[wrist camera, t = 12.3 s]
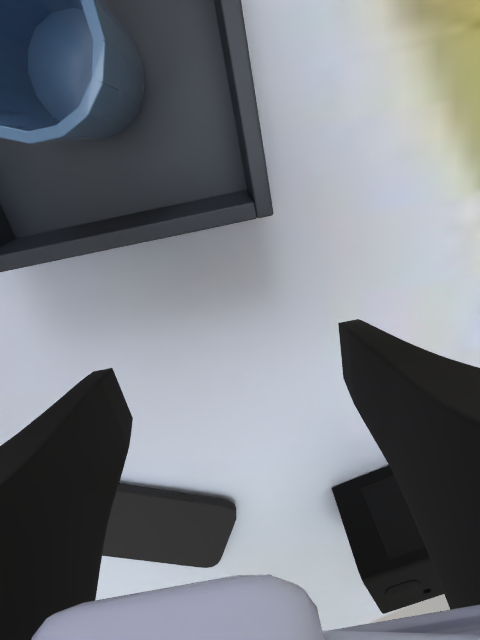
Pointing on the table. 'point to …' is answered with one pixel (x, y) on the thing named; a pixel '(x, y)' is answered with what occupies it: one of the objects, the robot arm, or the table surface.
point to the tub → (148, 147)
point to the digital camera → (386, 541)
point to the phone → (168, 527)
